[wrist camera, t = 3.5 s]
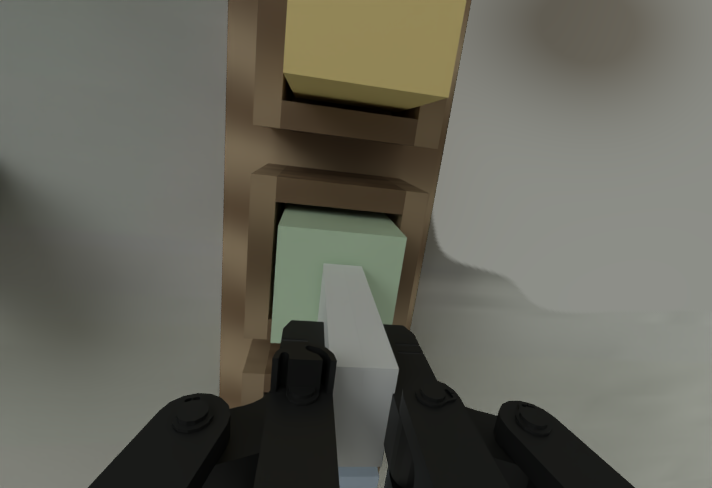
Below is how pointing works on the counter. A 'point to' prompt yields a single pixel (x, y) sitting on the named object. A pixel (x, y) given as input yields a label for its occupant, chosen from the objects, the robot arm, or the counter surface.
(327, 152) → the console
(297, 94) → the button ochre
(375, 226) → the button sage
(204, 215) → the counter surface
